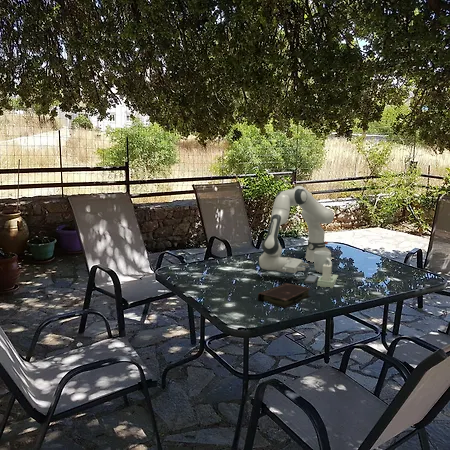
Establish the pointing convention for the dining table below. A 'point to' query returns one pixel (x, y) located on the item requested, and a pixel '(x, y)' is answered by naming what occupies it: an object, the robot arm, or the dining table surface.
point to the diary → (284, 294)
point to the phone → (311, 279)
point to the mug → (321, 260)
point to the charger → (326, 272)
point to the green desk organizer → (327, 283)
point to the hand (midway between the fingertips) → (306, 267)
